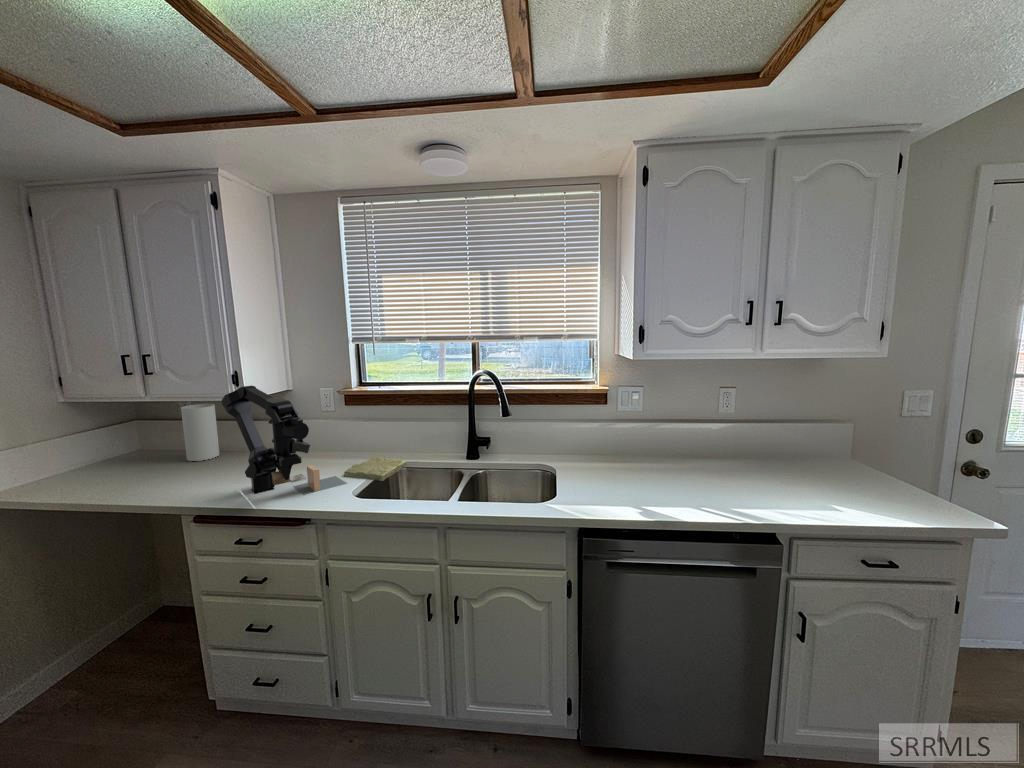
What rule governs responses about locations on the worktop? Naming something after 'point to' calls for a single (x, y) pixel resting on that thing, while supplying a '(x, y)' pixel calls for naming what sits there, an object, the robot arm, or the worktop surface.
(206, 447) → the cylinder vase
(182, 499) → the worktop surface
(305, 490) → the slate mat
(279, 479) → the grey-capped brown block
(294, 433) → the robot arm
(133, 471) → the worktop surface
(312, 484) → the terracotta tile
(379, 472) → the decorative tile
